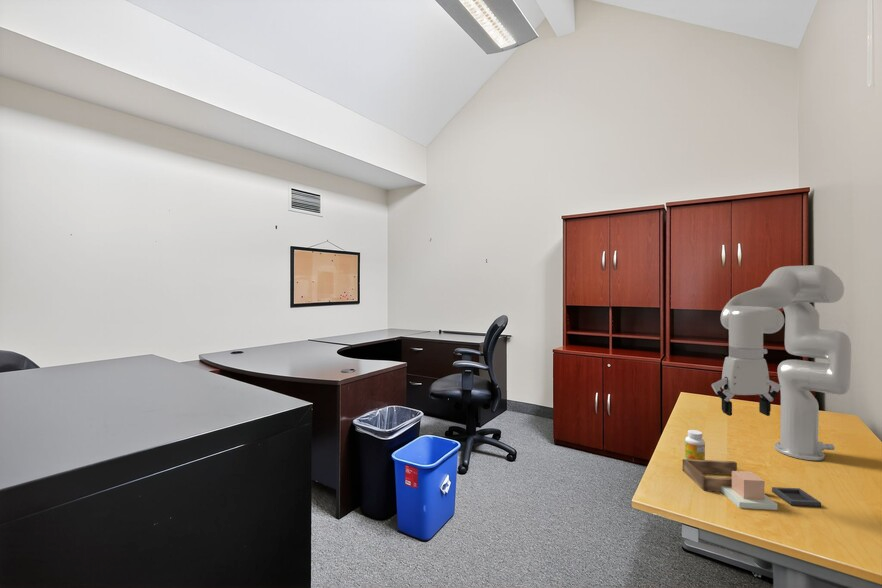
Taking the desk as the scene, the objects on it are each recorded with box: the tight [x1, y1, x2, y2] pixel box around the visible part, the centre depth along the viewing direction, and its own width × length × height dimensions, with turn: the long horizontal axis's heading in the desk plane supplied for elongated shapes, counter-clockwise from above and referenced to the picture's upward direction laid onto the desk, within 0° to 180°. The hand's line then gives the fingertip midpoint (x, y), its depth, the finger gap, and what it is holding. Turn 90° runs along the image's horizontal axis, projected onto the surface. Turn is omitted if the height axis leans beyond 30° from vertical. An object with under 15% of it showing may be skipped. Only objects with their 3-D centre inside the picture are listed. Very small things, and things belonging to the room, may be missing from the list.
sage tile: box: [721, 486, 778, 511], centre depth 104 cm, size 9×8×2 cm
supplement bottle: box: [684, 429, 706, 460], centre depth 127 cm, size 5×5×10 cm
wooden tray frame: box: [682, 458, 738, 493], centre depth 115 cm, size 15×12×4 cm
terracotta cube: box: [731, 470, 765, 500], centre depth 105 cm, size 5×5×5 cm
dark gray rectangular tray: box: [771, 486, 822, 508], centre depth 105 cm, size 7×7×1 cm
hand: (745, 414), depth 109 cm, fingers open, 9 cm apart
